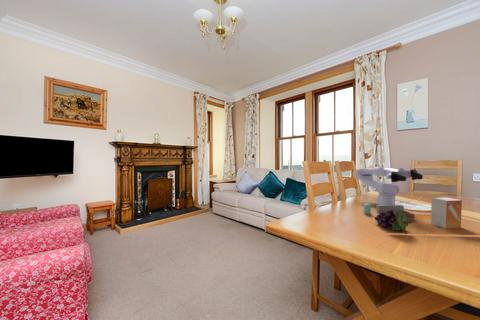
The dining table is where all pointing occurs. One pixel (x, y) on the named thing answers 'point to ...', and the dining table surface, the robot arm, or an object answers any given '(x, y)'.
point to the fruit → (393, 220)
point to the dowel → (367, 209)
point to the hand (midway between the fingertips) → (413, 177)
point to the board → (388, 208)
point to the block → (408, 215)
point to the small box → (446, 212)
